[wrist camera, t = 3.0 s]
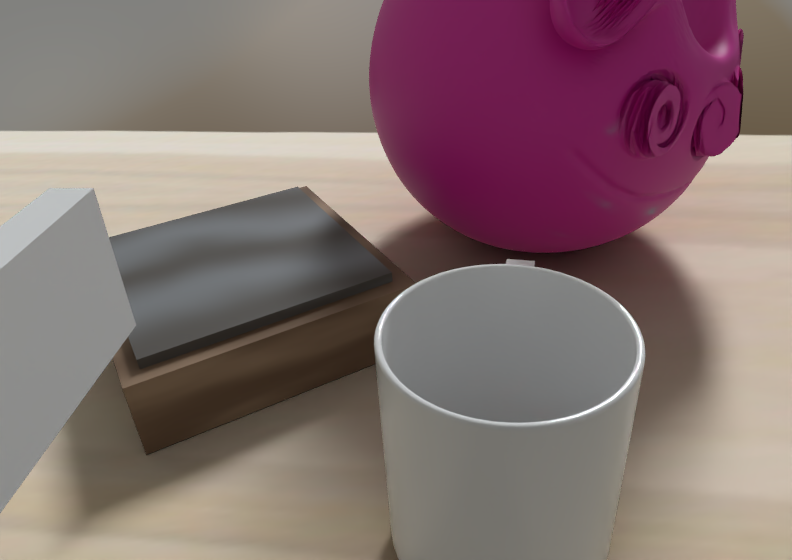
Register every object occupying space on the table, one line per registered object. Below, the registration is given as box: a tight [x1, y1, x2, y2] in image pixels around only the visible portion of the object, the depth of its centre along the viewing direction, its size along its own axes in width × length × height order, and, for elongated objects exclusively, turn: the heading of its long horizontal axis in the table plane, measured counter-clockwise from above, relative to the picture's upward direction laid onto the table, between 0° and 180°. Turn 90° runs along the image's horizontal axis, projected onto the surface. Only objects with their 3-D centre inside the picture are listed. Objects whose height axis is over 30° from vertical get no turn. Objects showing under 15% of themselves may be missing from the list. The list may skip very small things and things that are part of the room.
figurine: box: [369, 0, 744, 253], centre depth 44 cm, size 23×24×25 cm
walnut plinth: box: [109, 186, 416, 455], centre depth 41 cm, size 16×16×5 cm
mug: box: [374, 259, 645, 560], centre depth 27 cm, size 12×9×11 cm
